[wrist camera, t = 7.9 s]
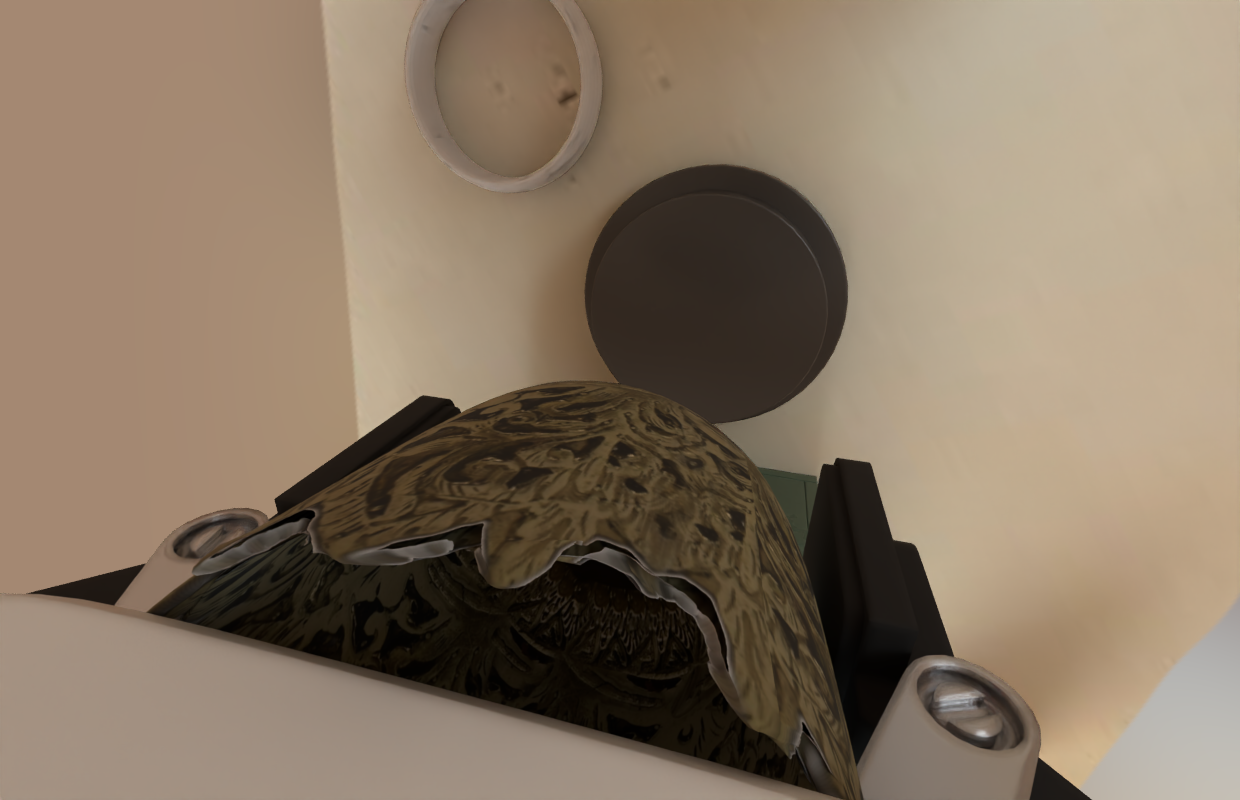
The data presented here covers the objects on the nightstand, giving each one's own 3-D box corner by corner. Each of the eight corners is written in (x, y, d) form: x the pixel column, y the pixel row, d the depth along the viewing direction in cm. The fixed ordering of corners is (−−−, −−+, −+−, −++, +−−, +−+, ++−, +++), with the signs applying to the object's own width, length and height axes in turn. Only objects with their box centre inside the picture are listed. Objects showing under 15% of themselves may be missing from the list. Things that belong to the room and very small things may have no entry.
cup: (911, 434, 11) (1178, 1020, 4) (692, 648, 14) (603, 1162, 7) (573, 211, 11) (146, 351, 3) (435, 481, 14) (81, 830, 7)
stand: (593, 157, 24) (570, 158, 21) (872, 171, 22) (885, 175, 19) (588, 397, 29) (568, 423, 26) (818, 430, 26) (823, 462, 24)
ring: (606, 195, 24) (593, 199, 23) (435, 187, 26) (410, 190, 24) (609, -38, 21) (593, -54, 19) (413, -29, 23) (383, -43, 21)
